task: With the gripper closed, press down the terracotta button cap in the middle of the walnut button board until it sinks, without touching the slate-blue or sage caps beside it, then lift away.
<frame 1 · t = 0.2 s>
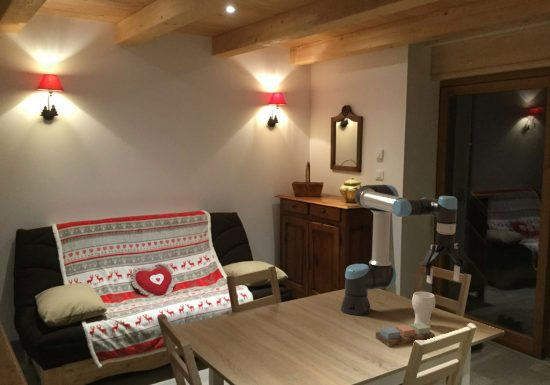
hand: (442, 281, 208), 28 cm above the table, fingers open, 13 cm apart
cup: (422, 325, 232), on the table
cap slate: (390, 333, 212), point 3 cm above the table, slide at 0.0 cm
button board: (404, 338, 215), on the table
cap sage: (420, 329, 218), point 4 cm above the table, slide at 0.0 cm
cap terracotta: (405, 331, 215), point 4 cm above the table, slide at 0.0 cm
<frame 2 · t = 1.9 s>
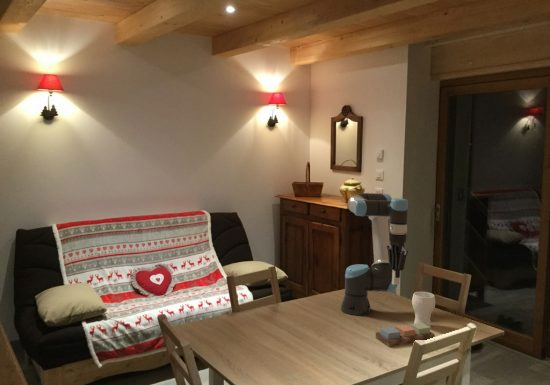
hand: (395, 284, 221), 22 cm above the table, fingers closed
nothing on the table moved.
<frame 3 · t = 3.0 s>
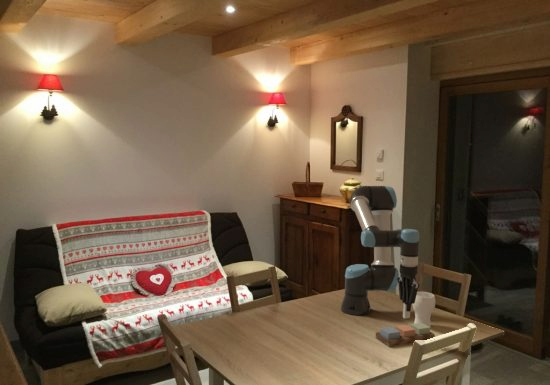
hand: (406, 317, 214), 10 cm above the table, fingers closed
nothing on the table moved.
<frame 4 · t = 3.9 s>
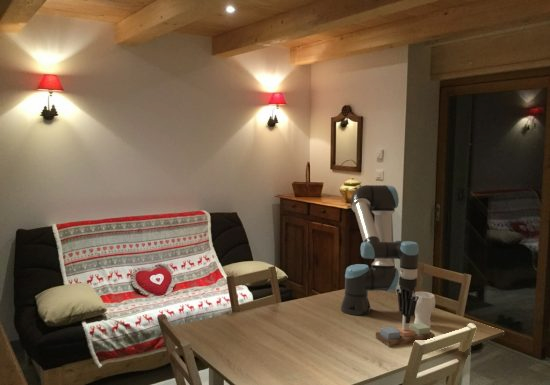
hand: (405, 329, 215), 4 cm above the table, fingers closed
cap terracotta: (405, 333, 215), point 3 cm above the table, slide at 0.8 cm, touching gripper
everything else where it was.
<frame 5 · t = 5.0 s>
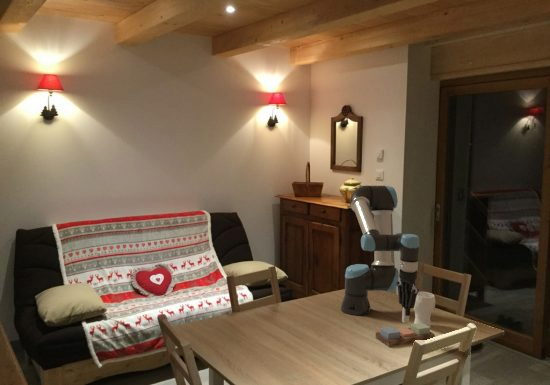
hand: (405, 321, 215), 8 cm above the table, fingers closed
cap terracotta: (405, 334, 215), point 2 cm above the table, slide at 1.5 cm
everything else where it was.
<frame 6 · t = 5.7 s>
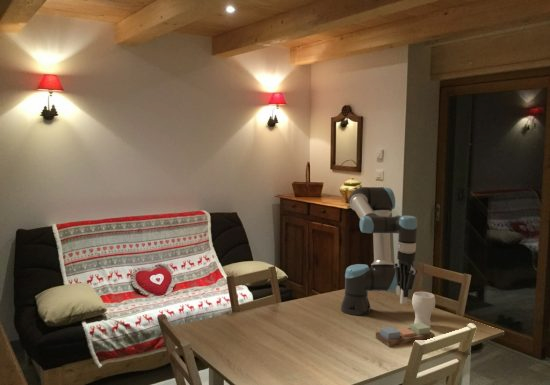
hand: (403, 303, 215), 16 cm above the table, fingers closed
nothing on the table moved.
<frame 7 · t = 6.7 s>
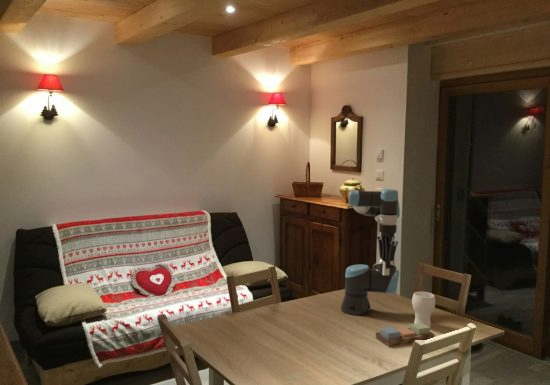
hand: (385, 274, 221), 26 cm above the table, fingers closed
nothing on the table moved.
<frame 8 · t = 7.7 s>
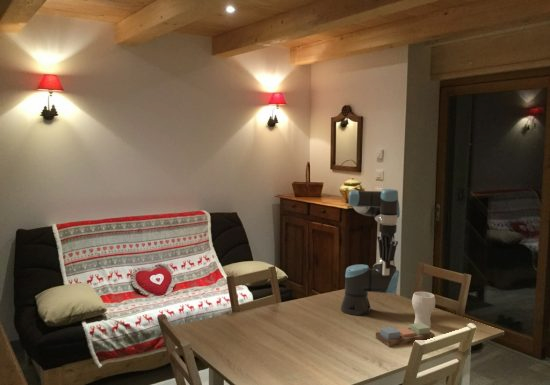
hand: (385, 274, 221), 26 cm above the table, fingers closed
nothing on the table moved.
at the end: cap terracotta slide at 1.5 cm; cap slate slide at 0.0 cm; cap sage slide at 0.0 cm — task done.
